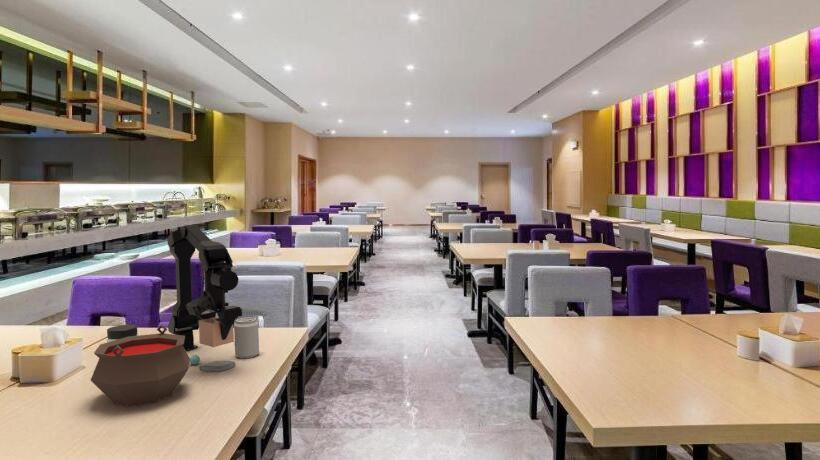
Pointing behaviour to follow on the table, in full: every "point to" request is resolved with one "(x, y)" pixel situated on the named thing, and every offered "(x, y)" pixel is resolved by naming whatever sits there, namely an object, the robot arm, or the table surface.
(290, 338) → the table surface
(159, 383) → the brown cauldron
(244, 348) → the can
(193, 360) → the marble teal
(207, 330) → the peach beveled cube
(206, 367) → the coaster
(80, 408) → the table surface
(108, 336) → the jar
